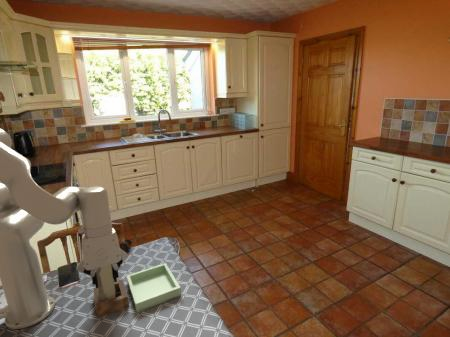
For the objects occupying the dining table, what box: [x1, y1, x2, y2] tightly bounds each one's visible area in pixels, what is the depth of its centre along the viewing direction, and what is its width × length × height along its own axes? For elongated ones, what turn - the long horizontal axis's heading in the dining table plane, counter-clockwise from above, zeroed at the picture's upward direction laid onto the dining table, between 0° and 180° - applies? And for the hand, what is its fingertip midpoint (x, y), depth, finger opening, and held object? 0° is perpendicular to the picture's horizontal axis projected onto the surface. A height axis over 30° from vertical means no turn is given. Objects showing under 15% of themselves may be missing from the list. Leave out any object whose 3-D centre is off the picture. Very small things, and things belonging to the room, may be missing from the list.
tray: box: [125, 262, 182, 313], centre depth 92 cm, size 14×16×3 cm
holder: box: [93, 278, 130, 319], centre depth 87 cm, size 9×10×4 cm
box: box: [95, 263, 116, 303], centre depth 85 cm, size 5×4×13 cm
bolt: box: [112, 239, 133, 266], centre depth 114 cm, size 6×5×15 cm
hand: (106, 282), depth 86 cm, fingers closed on box, 4 cm apart
